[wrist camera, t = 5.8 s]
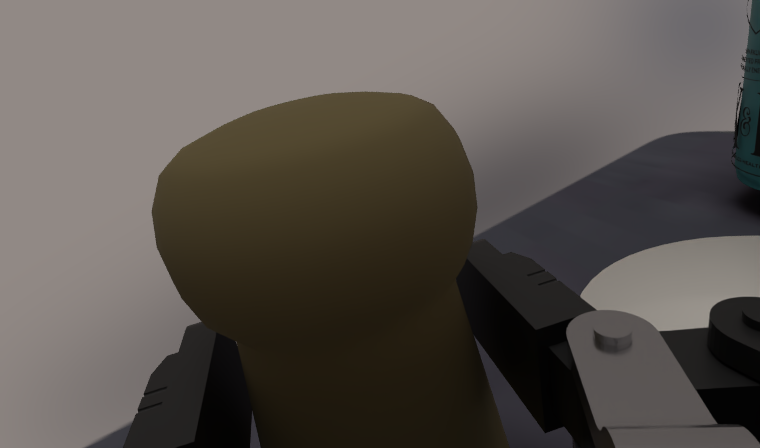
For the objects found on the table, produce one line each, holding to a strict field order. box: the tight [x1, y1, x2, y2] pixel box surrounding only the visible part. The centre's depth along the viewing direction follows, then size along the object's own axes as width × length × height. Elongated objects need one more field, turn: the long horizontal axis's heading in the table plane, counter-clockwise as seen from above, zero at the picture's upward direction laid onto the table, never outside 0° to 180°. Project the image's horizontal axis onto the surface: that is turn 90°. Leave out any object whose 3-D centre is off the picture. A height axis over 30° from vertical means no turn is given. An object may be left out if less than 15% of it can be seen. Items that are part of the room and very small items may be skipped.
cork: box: [152, 92, 510, 448], centre depth 9 cm, size 6×6×11 cm
